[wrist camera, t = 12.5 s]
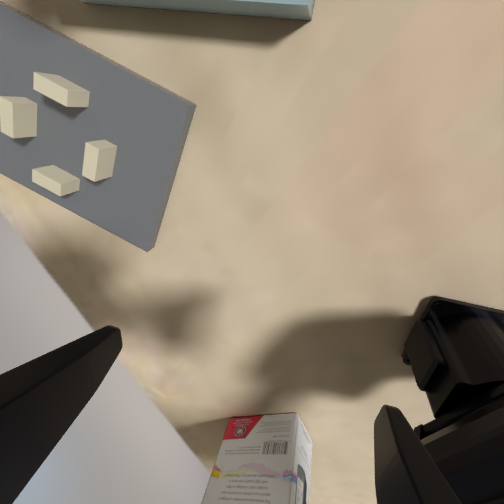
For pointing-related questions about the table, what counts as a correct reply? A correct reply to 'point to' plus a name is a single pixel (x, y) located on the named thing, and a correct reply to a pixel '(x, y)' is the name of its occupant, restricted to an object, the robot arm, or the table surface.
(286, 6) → the tray
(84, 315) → the table surface
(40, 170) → the board
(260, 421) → the ink box
